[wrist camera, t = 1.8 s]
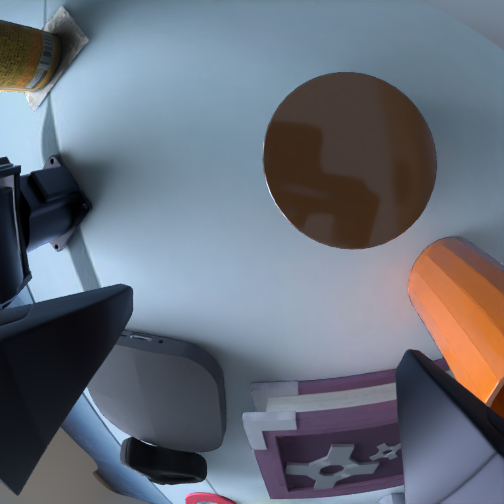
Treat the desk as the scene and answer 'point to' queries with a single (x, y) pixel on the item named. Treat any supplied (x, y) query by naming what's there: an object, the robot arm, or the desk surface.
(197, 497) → the door hanger
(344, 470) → the book
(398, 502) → the salt shaker
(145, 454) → the black blower fan
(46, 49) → the condiment
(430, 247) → the cup
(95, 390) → the media streaming box
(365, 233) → the jar
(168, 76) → the desk surface
